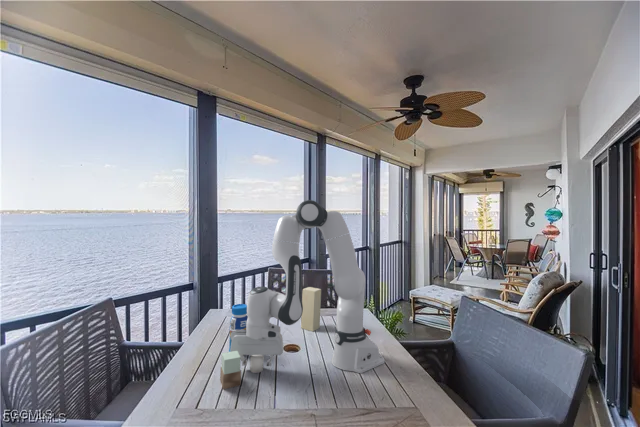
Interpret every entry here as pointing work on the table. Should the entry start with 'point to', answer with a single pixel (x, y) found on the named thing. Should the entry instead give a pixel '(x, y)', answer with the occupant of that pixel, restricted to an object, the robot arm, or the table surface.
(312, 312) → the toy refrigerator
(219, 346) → the table surface
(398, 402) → the table surface
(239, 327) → the beverage bottle
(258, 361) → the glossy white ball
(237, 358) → the tower top
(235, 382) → the tower base
